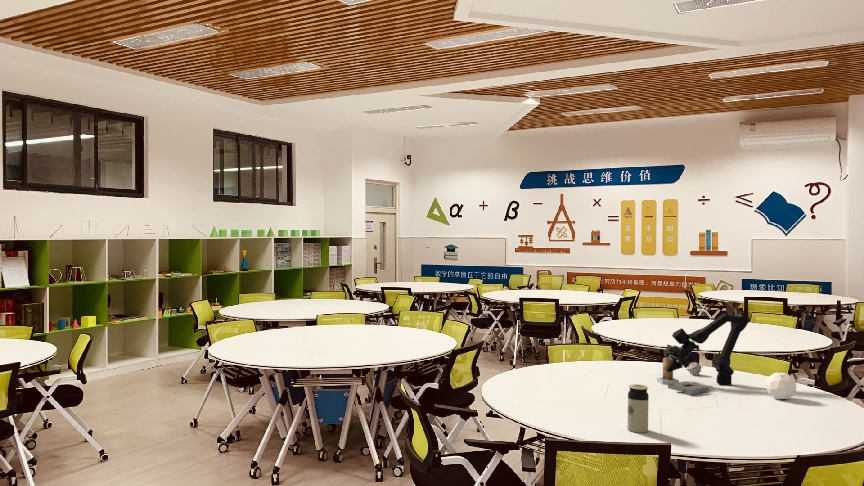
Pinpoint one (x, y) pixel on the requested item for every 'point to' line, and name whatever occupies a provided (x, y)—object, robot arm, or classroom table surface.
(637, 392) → the travel mug
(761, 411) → the classroom table surface
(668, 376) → the knob
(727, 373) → the robot arm
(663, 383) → the rest block
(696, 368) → the spiky grey ball
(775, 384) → the geodesic sphere
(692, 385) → the hub plate
